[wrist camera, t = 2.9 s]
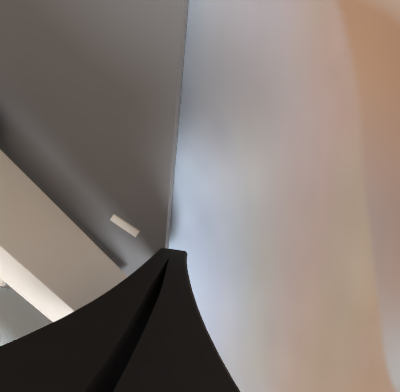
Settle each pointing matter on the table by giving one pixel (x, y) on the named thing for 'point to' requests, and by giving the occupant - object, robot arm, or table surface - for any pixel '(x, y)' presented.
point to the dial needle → (47, 250)
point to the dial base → (96, 113)
